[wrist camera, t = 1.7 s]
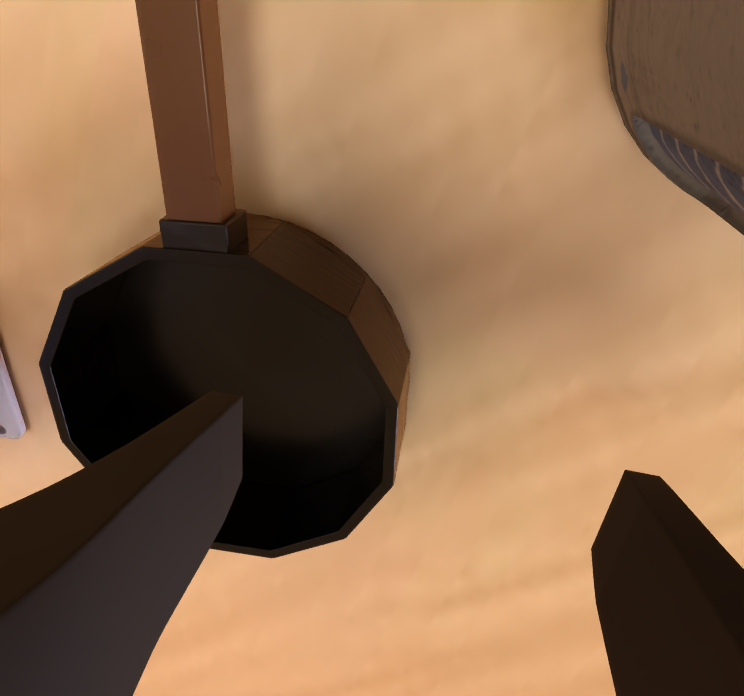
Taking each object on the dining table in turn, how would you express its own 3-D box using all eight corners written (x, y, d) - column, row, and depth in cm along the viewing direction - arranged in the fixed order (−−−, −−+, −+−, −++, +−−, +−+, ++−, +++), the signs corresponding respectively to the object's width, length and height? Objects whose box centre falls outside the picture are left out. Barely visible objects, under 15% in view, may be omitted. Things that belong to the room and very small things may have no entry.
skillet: (401, 500, 25) (388, 577, 21) (138, 464, 26) (86, 529, 23) (442, -90, 15) (429, -126, 12) (18, -92, 17) (-104, -124, 13)
